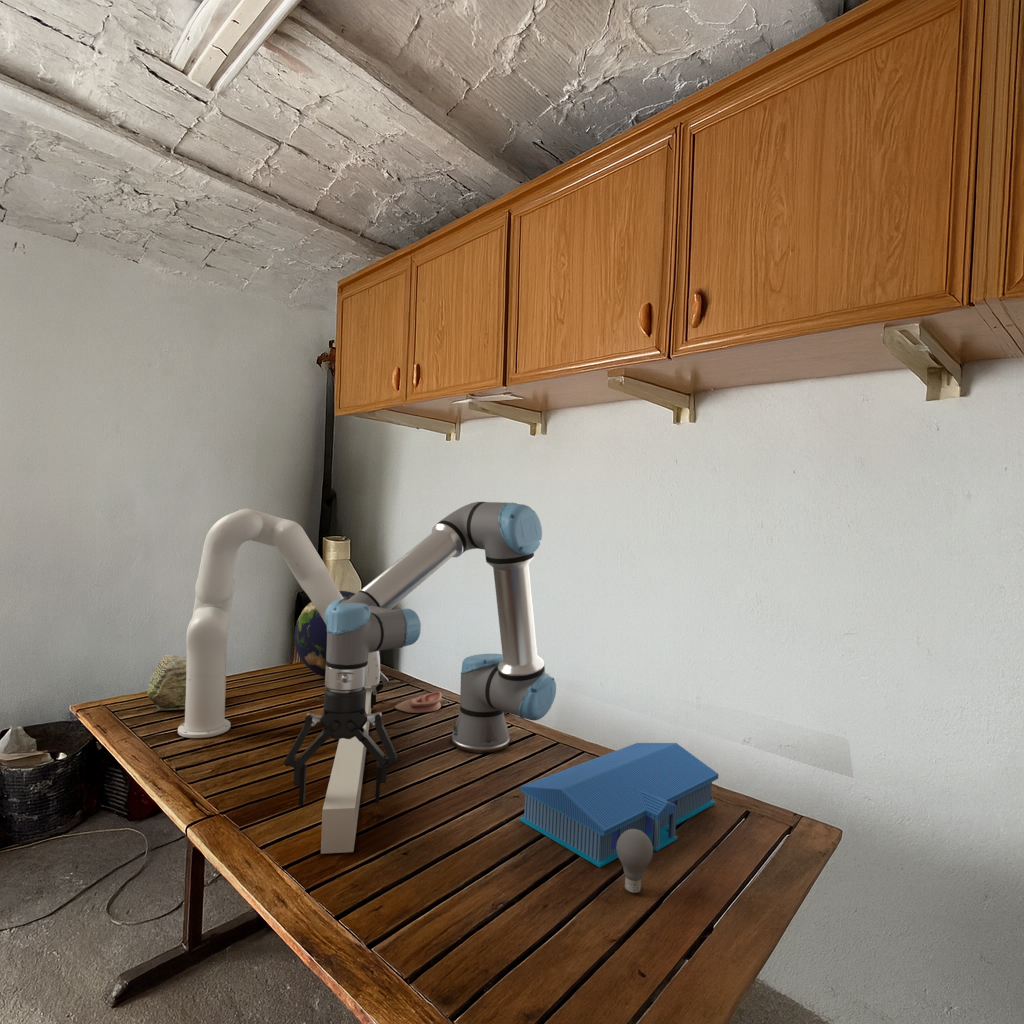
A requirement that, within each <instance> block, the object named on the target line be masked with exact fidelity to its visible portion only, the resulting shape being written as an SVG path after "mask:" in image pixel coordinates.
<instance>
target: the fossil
mask: <svg viewBox="0 0 1024 1024" xmlns="http://www.w3.org/2000/svg"><path fill="white" fill-rule="evenodd" d="M186 665H187V656H183V657H182V656H178V655H175V654H174V655H173V654H165V655H164V656H163V657H162V658H161V659H160V660H159V662H158V663H157V666H156V667H155V669H154V670H153V672H152V675H151V677H150V680H149V684H148V688H147V697H148V699H149V700H150V701H152V703H153V704H154V706H155V711H158V712H159V711H162V712H163V711H177V710H185V701H186Z"/></svg>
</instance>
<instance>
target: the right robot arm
mask: <svg viewBox="0 0 1024 1024" xmlns="http://www.w3.org/2000/svg"><path fill="white" fill-rule="evenodd" d="M542 537H543V526H542V522H541V520H540V517H539V515H538V514H537V512H536V511H535V510H534V509H532V507H530V506H528V505H527V504H521V503H517V502H501V501H500V502H497V501H496V502H495V501H494V502H492V501H475V502H471V503H468V504H466V505H463V506H461V507H459V508H457V509H455V510H454V511H453V512H451V513H449V514H448V515H446V516H445V517H444V518H442V519H441V520H439V521H438V522H437V523H436V524H435V525H433V527H432V529H431V533H430V534H429V535H428V536H426V537H425V538H424V539H422V540H421V541H420V542H419V543H418V544H416V545H415V546H414V547H412V548H411V549H410V550H409V551H407V552H406V553H405V554H404V555H402V556H401V557H400V558H399V559H397V560H396V561H395V562H394V563H393V564H391V565H390V566H389V567H388V568H386V569H385V570H384V571H382V572H381V573H380V574H379V575H377V576H376V577H375V578H374V579H372V581H369V583H368V584H366V585H365V586H364V587H362V588H361V589H360V590H359V591H358V592H357V593H356V592H355V593H356V594H355V595H354V596H352V597H351V598H350V599H338V600H335V601H333V602H332V603H330V605H329V606H328V607H327V609H326V612H325V617H324V619H325V624H326V626H327V653H326V672H325V677H324V686H325V687H326V688H325V689H324V692H323V695H324V696H323V711H322V714H319V713H314V712H313V711H311V710H309V711H307V713H306V716H305V718H304V724H303V727H302V729H301V730H300V732H299V734H298V736H297V738H296V740H295V741H294V743H293V744H292V746H291V748H290V749H289V751H288V753H287V755H286V757H285V759H284V762H283V765H284V766H285V767H291V768H293V772H294V773H293V785H294V787H299V791H298V793H299V794H298V795H299V796H298V806H299V807H302V806H304V804H305V801H306V790H307V789H306V787H307V770H308V764H307V762H308V761H309V759H311V757H312V756H313V755H314V754H315V753H316V752H317V751H318V750H319V749H320V747H321V746H322V745H323V744H324V743H326V742H327V741H328V739H329V738H330V737H331V739H333V740H339V739H341V738H345V739H351V738H353V737H356V738H357V739H358V740H359V741H360V742H361V743H362V744H363V745H364V746H365V747H366V751H368V753H369V754H370V755H371V756H372V757H373V759H375V761H376V762H377V763H376V778H375V796H374V803H375V804H380V796H381V795H380V794H381V785H383V784H386V783H387V780H388V767H389V766H390V765H396V764H397V763H398V753H397V751H396V749H395V747H394V745H393V742H392V739H391V737H390V736H389V734H388V732H387V729H386V727H385V725H384V722H383V713H382V711H381V710H377V711H376V712H375V713H371V714H366V711H365V704H366V689H365V688H364V687H365V686H366V684H367V666H368V653H369V652H375V651H379V652H381V651H387V650H393V649H402V648H404V647H407V646H411V645H414V644H415V643H417V641H418V640H419V638H420V636H421V633H422V631H421V630H422V628H421V627H422V623H421V619H420V617H419V615H418V614H417V612H416V611H415V610H413V609H411V608H401V607H399V608H395V609H393V608H394V607H396V605H398V604H399V603H400V602H402V600H404V599H405V598H406V597H407V596H409V594H410V593H412V592H413V591H415V589H417V588H418V587H419V586H420V585H422V583H424V582H425V581H426V580H427V579H428V578H429V577H430V576H432V575H433V574H434V573H436V572H437V571H438V570H439V569H440V568H441V567H442V566H444V564H446V563H447V562H449V560H451V558H459V557H461V555H463V554H464V553H465V552H468V551H470V550H476V549H478V550H484V556H485V562H486V563H487V565H489V566H490V567H492V569H493V579H494V589H495V596H496V597H495V598H496V606H497V615H498V626H499V635H500V644H501V652H502V653H479V654H474V655H469V656H466V657H465V658H464V659H463V660H462V662H461V672H460V692H459V693H460V694H459V695H460V696H459V697H460V698H459V714H458V717H457V719H456V722H455V725H454V721H452V723H451V728H453V729H452V733H451V744H452V745H453V746H454V748H456V749H458V750H461V751H463V752H467V753H472V754H491V753H497V752H500V751H504V750H505V749H506V748H508V747H509V745H510V733H509V728H508V725H507V721H506V717H505V715H506V714H509V715H513V716H516V717H518V718H520V719H522V720H529V721H538V720H541V719H542V718H543V717H545V716H546V715H547V714H548V712H550V709H551V708H552V706H553V704H554V702H555V698H556V694H557V682H556V679H555V678H554V677H553V676H552V675H551V674H550V673H546V668H545V661H544V659H543V658H542V657H540V656H539V655H538V649H537V637H536V628H535V615H534V607H533V597H532V585H531V575H530V574H531V573H530V563H531V561H532V560H533V559H534V558H535V552H536V551H538V549H539V547H540V545H541V541H542V540H543V539H542ZM367 721H369V722H370V725H371V726H373V727H375V731H376V733H377V735H378V738H379V740H380V742H381V744H382V746H383V748H384V750H385V752H386V754H385V753H384V752H383V750H382V749H381V748H380V747H379V746H378V744H377V743H376V742H375V741H374V740H373V738H372V737H371V736H370V735H369V733H368V734H367V732H366V730H365V729H364V728H363V726H364V725H365V724H366V722H367ZM317 723H320V724H321V726H322V727H323V728H324V729H322V731H321V732H320V733H319V735H318V736H317V737H316V738H315V739H314V740H313V741H312V742H311V743H310V744H309V745H308V746H307V748H305V750H304V751H303V752H302V753H301V754H300V755H299V756H298V757H296V756H297V754H298V752H299V750H300V748H301V747H302V745H303V743H304V741H306V740H305V739H306V738H307V736H308V734H309V733H310V731H311V728H313V727H316V725H317ZM453 726H454V727H453Z"/></svg>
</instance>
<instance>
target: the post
mask: <svg viewBox="0 0 1024 1024" xmlns="http://www.w3.org/2000/svg"><path fill="white" fill-rule="evenodd" d="M364 688H365V689H366V704H365V711H366V714H372V709H371V693H372V689H371V686H365V687H364ZM370 725H371V722H369V721H367V722H366V724H365V725H364V726H363V728H364V729H365V730H366V732H367V734H368V735H369V731H370ZM336 748H337V749H336V752H335V756H334V761H333V765H332V769H331V773H330V777H329V781H328V785H327V789H326V793H325V798H324V800H323V801H324V802H323V806H322V813H321V814H322V815H321V816H322V817H321V837H320V838H321V842H320V855H325V854H326V855H327V854H340V853H341V854H343V853H354V850H355V843H356V836H357V835H356V834H357V829H358V828H357V827H358V819H359V810H360V803H361V796H362V795H361V794H362V788H363V778H364V771H365V763H366V756H367V755H366V754H367V749H366V747H365V746H364V745H363V744H362V743H361V742H360V741H359V740H358V739H357V738H356V737H353V738H351V739H345V738H341V739H338V744H337V747H336Z"/></svg>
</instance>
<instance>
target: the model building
mask: <svg viewBox="0 0 1024 1024" xmlns="http://www.w3.org/2000/svg"><path fill="white" fill-rule="evenodd" d="M717 780H719V773H718V772H717V771H715V770H714V769H713V768H711V767H710V766H708V765H707V764H705V763H704V762H703V761H702V760H700V759H699V758H698V757H696V756H695V755H693V754H692V753H691V752H689V751H688V750H687V749H686V748H684V747H682V746H681V745H680V744H678V743H677V742H636V743H633V744H630V745H627V746H626V747H623V748H619V749H617V750H614V751H611V752H609V753H606V754H603V755H601V756H598V757H595V758H593V759H590V760H587V761H585V762H582V763H580V764H577V765H573V766H571V767H568V768H565V769H563V770H560V771H558V772H555V773H553V774H552V773H551V774H550V775H546V776H544V777H542V778H539V779H537V780H533V781H530V782H527V783H525V784H522V785H521V786H520V793H522V794H524V815H523V816H521V817H519V821H520V822H522V823H523V824H525V825H527V826H529V827H530V828H532V829H534V830H535V831H536V832H539V833H541V834H542V835H544V836H546V837H547V838H549V839H551V840H552V841H554V842H556V843H557V844H559V845H561V846H562V847H564V848H566V849H568V850H569V851H571V852H573V853H574V854H576V855H578V856H579V857H581V858H582V859H584V860H586V861H588V862H590V863H591V864H593V865H594V866H596V867H597V868H602V867H604V866H606V865H608V864H609V863H611V862H613V861H615V860H616V859H619V857H618V854H617V849H616V846H617V841H618V839H619V837H620V835H621V834H622V833H623V832H625V831H627V830H629V829H637V830H640V831H642V832H644V833H645V834H646V835H647V836H648V838H649V839H650V841H651V843H652V846H653V852H654V851H655V852H658V851H660V850H661V849H663V848H665V847H667V846H669V845H670V844H672V843H674V842H675V841H677V840H678V839H679V838H678V837H679V836H678V835H677V834H676V833H677V825H678V826H679V825H680V824H681V823H683V822H685V821H687V820H689V819H690V818H693V817H694V816H696V815H698V814H700V813H702V812H703V811H705V810H706V809H708V808H710V807H712V806H714V805H715V804H716V801H715V800H714V799H713V800H712V792H713V791H712V789H713V782H714V781H717Z"/></svg>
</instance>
